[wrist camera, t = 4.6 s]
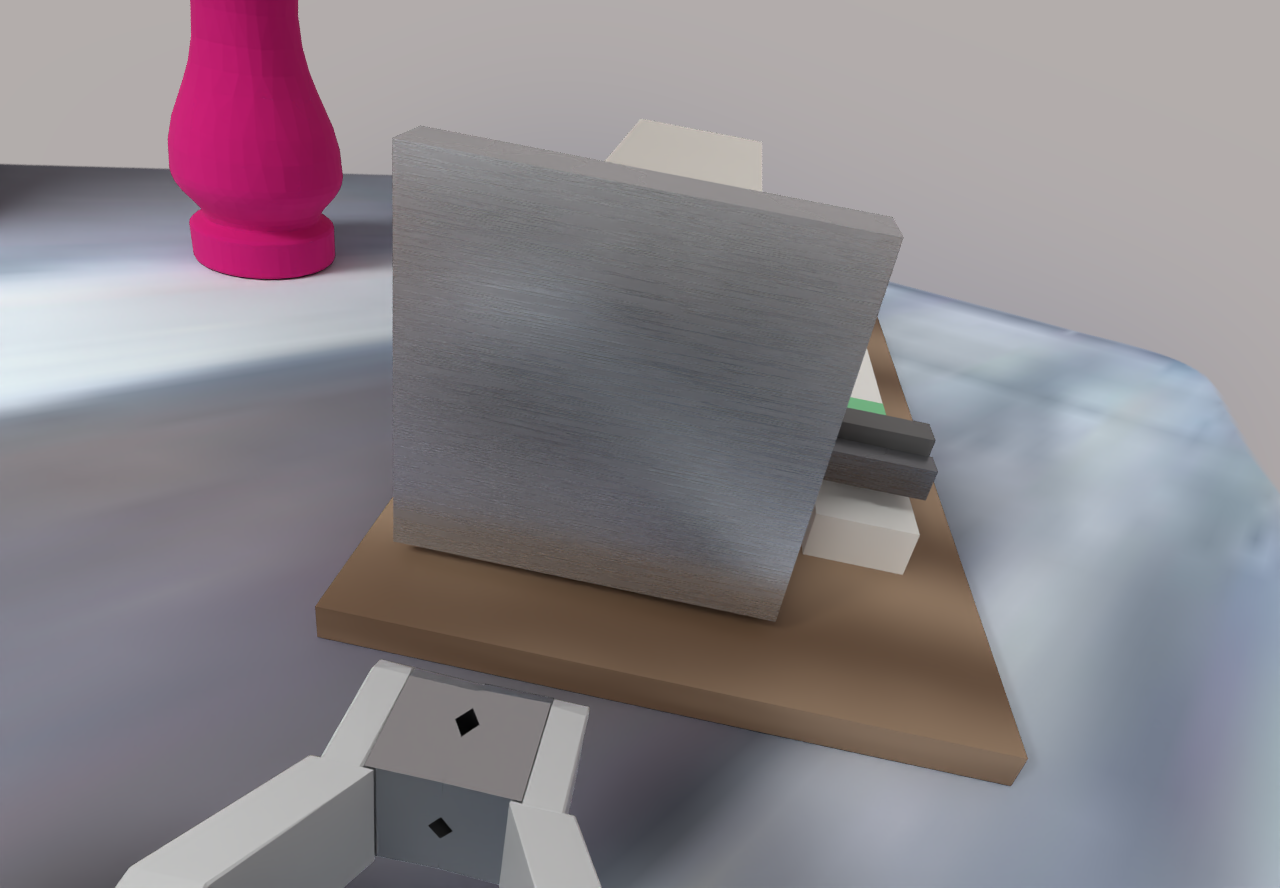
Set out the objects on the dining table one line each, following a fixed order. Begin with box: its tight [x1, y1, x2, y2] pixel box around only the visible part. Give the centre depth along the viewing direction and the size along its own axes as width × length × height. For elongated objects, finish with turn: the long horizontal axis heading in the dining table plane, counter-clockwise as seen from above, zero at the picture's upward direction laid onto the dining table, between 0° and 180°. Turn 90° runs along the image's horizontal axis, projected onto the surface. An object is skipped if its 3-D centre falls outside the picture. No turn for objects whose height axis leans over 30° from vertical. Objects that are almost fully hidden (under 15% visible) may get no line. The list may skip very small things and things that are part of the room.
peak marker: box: [837, 408, 935, 457], centre depth 24 cm, size 1×3×2 cm, turn 82°
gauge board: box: [315, 317, 1028, 786], centre depth 32 cm, size 30×17×1 cm, turn 173°
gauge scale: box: [802, 349, 920, 575], centre depth 29 cm, size 14×3×2 cm, turn 173°
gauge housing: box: [605, 119, 762, 192], centre depth 36 cm, size 12×6×8 cm, turn 173°
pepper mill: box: [168, 0, 343, 279], centre depth 34 cm, size 7×7×20 cm
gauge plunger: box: [392, 126, 938, 622], centre depth 26 cm, size 20×14×10 cm
